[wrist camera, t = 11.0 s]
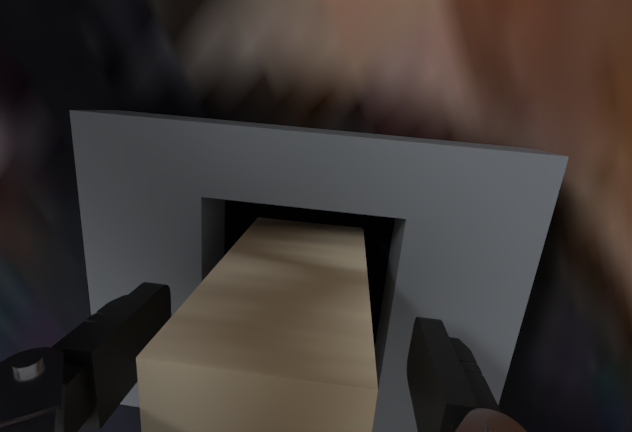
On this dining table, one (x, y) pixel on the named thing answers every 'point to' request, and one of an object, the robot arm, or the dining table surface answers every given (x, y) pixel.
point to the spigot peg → (269, 339)
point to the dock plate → (332, 195)
